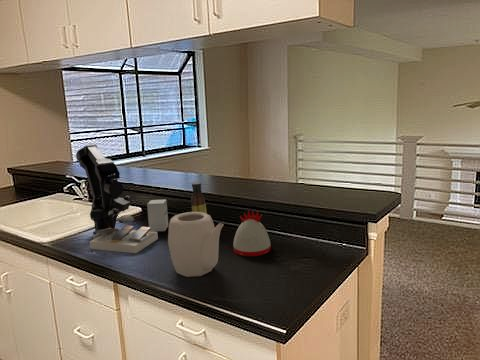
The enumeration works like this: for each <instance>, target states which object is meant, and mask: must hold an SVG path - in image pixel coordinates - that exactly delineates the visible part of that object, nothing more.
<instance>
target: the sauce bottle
mask: <svg viewBox="0 0 480 360" xmlns="http://www.w3.org/2000/svg"><path fill="white" fill-rule="evenodd" d="M191 188H192V195H191V198H190V202H191V212H203V213H206V214H208V212H207V204H206V198H205V196H204V194H203V192H202V183H201V182H198V181H197V182H193V183H191Z"/></svg>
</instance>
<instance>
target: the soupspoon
mask: <svg viewBox="0 0 480 360" xmlns="http://www.w3.org/2000/svg"><path fill="white" fill-rule="evenodd" d="M120 216H121V217H119V218H118V219H119V221H120V222H122V223H125V224H126V223H130V222H133V221H135V218H134V217H133V216H132V215H128V214H124V215H120Z"/></svg>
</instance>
